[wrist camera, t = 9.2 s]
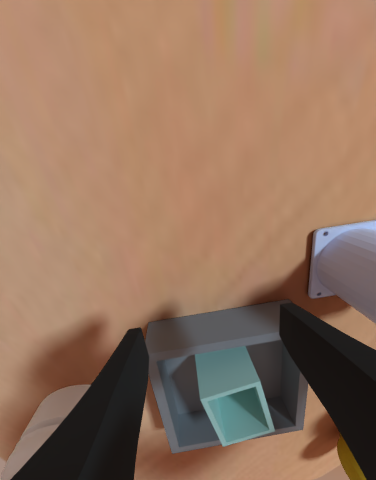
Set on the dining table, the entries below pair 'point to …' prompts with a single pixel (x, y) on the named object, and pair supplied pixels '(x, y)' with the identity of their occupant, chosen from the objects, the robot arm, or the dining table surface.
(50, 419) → the honey pot
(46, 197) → the dining table surface
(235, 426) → the teal crate
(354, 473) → the lemon
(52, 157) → the dining table surface
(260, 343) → the charcoal crate
